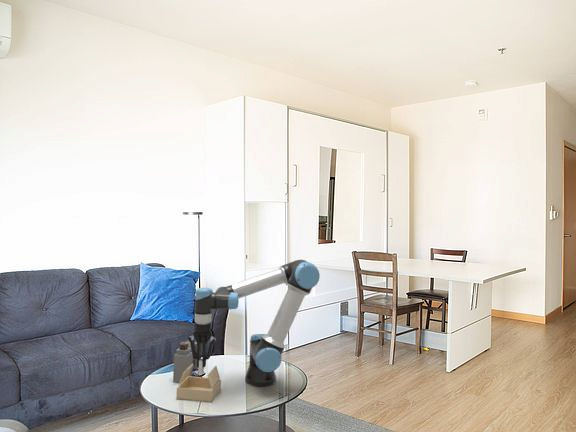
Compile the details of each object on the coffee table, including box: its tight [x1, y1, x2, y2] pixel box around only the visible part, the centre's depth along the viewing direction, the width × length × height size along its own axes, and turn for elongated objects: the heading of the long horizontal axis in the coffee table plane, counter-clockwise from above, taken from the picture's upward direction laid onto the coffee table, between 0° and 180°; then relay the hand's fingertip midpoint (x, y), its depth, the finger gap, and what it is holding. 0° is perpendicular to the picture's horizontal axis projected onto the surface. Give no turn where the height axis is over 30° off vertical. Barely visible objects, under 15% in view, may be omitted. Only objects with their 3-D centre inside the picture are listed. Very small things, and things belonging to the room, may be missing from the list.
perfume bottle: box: [172, 342, 193, 384], centre depth 231 cm, size 7×7×18 cm
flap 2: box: [207, 365, 221, 388], centre depth 215 cm, size 6×13×1 cm
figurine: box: [178, 339, 199, 371], centre depth 249 cm, size 10×11×15 cm
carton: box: [175, 375, 222, 403], centre depth 216 cm, size 16×15×5 cm
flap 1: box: [178, 364, 193, 386], centre depth 217 cm, size 6×13×1 cm
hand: (201, 373), depth 216 cm, fingers closed
